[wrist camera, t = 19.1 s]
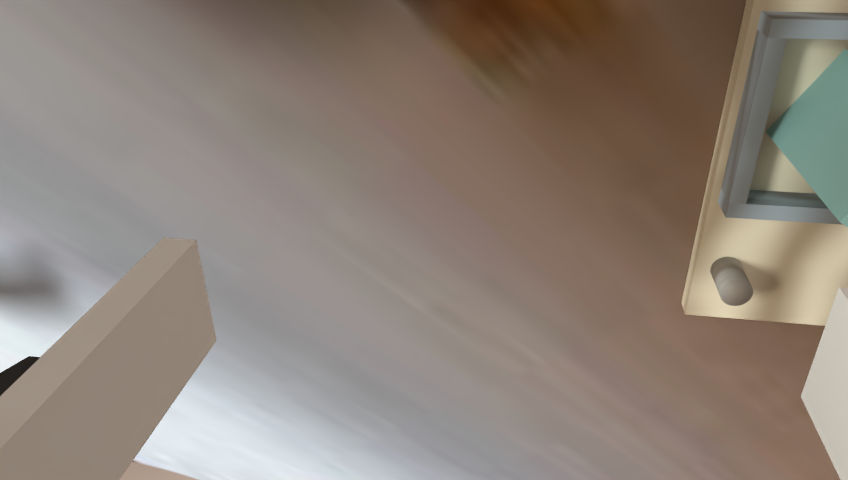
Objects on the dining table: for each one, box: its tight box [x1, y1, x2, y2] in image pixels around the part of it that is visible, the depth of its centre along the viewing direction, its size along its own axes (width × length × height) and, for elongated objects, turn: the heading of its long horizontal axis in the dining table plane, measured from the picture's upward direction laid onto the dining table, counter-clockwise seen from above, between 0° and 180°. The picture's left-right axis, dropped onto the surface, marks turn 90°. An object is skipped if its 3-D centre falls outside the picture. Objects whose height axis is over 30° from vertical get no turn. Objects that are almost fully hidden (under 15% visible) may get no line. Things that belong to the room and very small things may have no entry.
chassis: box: [681, 0, 848, 326], centre depth 41 cm, size 13×22×4 cm, turn 1°
